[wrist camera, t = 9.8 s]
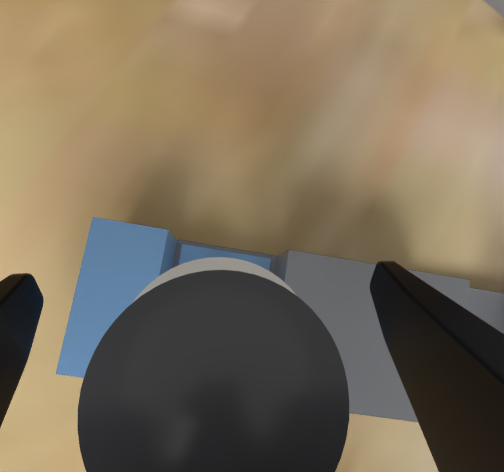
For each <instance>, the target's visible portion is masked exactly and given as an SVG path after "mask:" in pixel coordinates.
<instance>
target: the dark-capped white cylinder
mask: <svg viewBox="0 0 504 472" xmlns="http://www.w3.org/2000/svg"><path fill="white" fill-rule="evenodd" d="M348 423H349V391H348V383H347V378H346V373H345V368H344V365H343V362H342V359H341V356H340V353H339V350H338V348H337V346H336V344H335V342H334V340H333V338H332V336H331V334H330V333H329V331H328V330H327V328H326V327H325V325H324V323H323V322H322V321H321V319H320V318H319V317H318V316H317V315H316V313H315V312H314V311H313V310H312V309H311V308H310V307H309V306H308V305H307V304H306V303H305V302H304V301H303V300H301V299H300V298H299V297H298V296H297V295H296V294H295V293H294V292H293V291H292V289H291V288H290V287H289V286H288V285H287V284H286V283H285V282H283V281H282V280H281V279H280V278H279V277H277V276H276V275H274V274H273V273H272V272H270V271H268V270H266V269H265V268H263V267H261V266H259V265H256V264H253V263H251V262H248V261H244V260H240V259H235V258H226V257H210V258H203V259H197V260H193V261H190V262H186V263H183V264H181V265H178V266H176V267H174V268H172V269H170V270H168V271H167V272H165V273H163V274H162V275H160V276H158V277H157V278H156V279H155V280H153V281H152V282H151V283H150V284H149V285H147V286H146V287H145V288H144V290H143V291H142V292H141V293H140V294H139V295H138V296H137V297H136V299H135V300H134V301H133V303H132V304H131V305H129V306H128V307H127V308H126V309H125V310H124V311H123V312H122V313H121V314H120V315H119V316H118V317H117V318H116V320H115V321H114V322H113V323H112V325H111V326H110V327H109V329H108V330H107V331H106V333H105V334H104V335H103V337H102V339H101V340H100V342H99V344H98V346H97V347H96V349H95V351H94V353H93V355H92V358H91V360H90V362H89V365H88V367H87V369H86V373H85V376H84V380H83V383H82V387H81V392H80V399H79V406H78V435H79V444H80V450H81V454H82V458H83V462H84V466H85V469H86V471H87V472H335V470H336V468H337V465H338V463H339V461H340V458H341V455H342V452H343V448H344V444H345V441H346V436H347V429H348Z"/></svg>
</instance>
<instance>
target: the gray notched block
mask: <svg viewBox="0 0 504 472" xmlns="http://www.w3.org/2000/svg"><path fill="white" fill-rule="evenodd" d="M210 257H226V258H235V259H240V260H244V261H248V262H251V263H253V264H256V265H259V266H261V267H263V268H265V269H266V270H268V271H270V272H272V273H273V274H274V275H276V276H277V277H279V278H280V279H281V280H282V281H283V282H285V283H286V284H287V285H288V286H289V287H290V288H291V289H292V291H293V292H294V293H295V294H296V295H297V296H298V297H299V298H300V299H301V300H303V301H304V302H305V303H306V304H307V305H308V306H309V307H310V308H311V309H312V310H313V311H314V312H315V313H316V315H317V316H318V317H319V318H320V319H321V321H322V322H323V323H324V325H325V327H326V328H327V330H328V331H329V333H330V334H331V336H332V338H333V340H334V342H335V344H336V346H337V348H338V350H339V353H340V356H341V359H342V362H343V365H344V368H345V373H346V378H347V383H348V391H349V413H353V414H360V415H368V416H376V417H383V418H391V419H398V420H406V421H413V422H418V420H417V418H416V415H415V413H414V410H413V408H412V405H411V403H410V401H409V398H408V396H407V393H406V391H405V389H404V386H403V384H402V381H401V379H400V377H399V374H398V372H397V369H396V367H395V365H394V362H393V360H392V357H391V355H390V352H389V350H388V348H387V345H386V342H385V340H384V337H383V334H382V330H381V327H380V324H379V320H378V317H377V313H376V310H375V306H374V303H373V299H372V296H371V292H370V281H371V278H372V275H373V272H374V269H375V266H376V264H372V263H366V262H360V261H354V260H348V259H342V258H336V257H330V256H324V255H318V254H312V253H306V252H300V251H294V250H287V251H286V252H284V253H282V254H280V255H278V256H274V255H268V254H262V253H256V252H249V251H243V250H237V249H231V248H225V247H219V246H213V245H207V244H201V243H195V242H189V241H183V240H177V239H176V238H175V236H174V235H173V234H172V233H171V232H170V231H169V230H167V229H161V228H155V227H149V226H143V225H137V224H131V223H125V222H119V221H113V220H107V219H101V218H95V217H93V218H92V222H91V227H90V231H89V235H88V239H87V244H86V248H85V252H84V256H83V261H82V265H81V269H80V273H79V278H78V282H77V286H76V290H75V295H74V299H73V303H72V307H71V312H70V316H69V320H68V324H67V329H66V333H65V337H64V341H63V346H62V350H61V354H60V358H59V363H58V367H57V371H56V374H60V375H67V376H75V377H82V378H84V376H85V373H86V369H87V367H88V365H89V362H90V360H91V358H92V355H93V353H94V351H95V349H96V347H97V346H98V344H99V342H100V340H101V339H102V337H103V335H104V334H105V333H106V331H107V330H108V329H109V327H110V326H111V325H112V323H113V322H114V321H115V320H116V318H117V317H118V316H119V315H120V314H121V313H122V312H123V311H124V310H125V309H126V308H127V307H128V306H129V305H131V304H132V303H133V301H134V300H135V299H136V297H137V296H138V295H139V294H140V293H141V292H142V291H143V290H144V288H145V287H146V286H147V285H149V284H150V283H151V282H152V281H153V280H155V279H156V278H157V277H158V276H160V275H162V274H163V273H165V272H167V271H168V270H170V269H172V268H174V267H176V266H178V265H181V264H183V263H186V262H190V261H193V260H197V259H203V258H210ZM406 270H408V269H406ZM408 271H409V272H411V273H412V274H414V275H415V276H417V277H418V278H420V279H421V280H423V281H424V282H426V283H427V284H429V285H430V286H432V287H433V288H435V289H437V290H438V291H440V292H441V293H443V294H444V295H446V296H447V297H449V298H450V299H452V300H453V301H455V302H456V303H458V304H459V305H461V306H462V307H464V308H465V309H467V310H468V311H470V312H471V313H473V314H474V315H476V316H477V317H479V318H480V319H482V320H484V321H485V322H487V323H488V324H490V325H491V326H493V327H494V328H496V329H497V330H499V331H500V332H502V333H503V334H504V293H499V292H492V291H486V290H480V289H474V288H469V287H470V280H468V279H462V278H456V277H450V276H444V275H438V274H432V273H426V272H420V271H414V270H408Z"/></svg>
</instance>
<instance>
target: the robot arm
mask: <svg viewBox="0 0 504 472" xmlns="http://www.w3.org/2000/svg"><path fill="white" fill-rule="evenodd" d="M370 292H371V296H372V299H373V303H374V306H375V310H376V313H377V317H378V320H379V324H380V327H381V330H382V334H383V337H384V340H385V342H386V345H387V348H388V350H389V352H390V355H391V357H392V360H393V362H394V365H395V367H396V369H397V372H398V374H399V377H400V379H401V381H402V384H403V386H404V389H405V391H406V393H407V396H408V398H409V401H410V403H411V405H412V408H413V410H414V413H415V415H416V418H417V420H418V422H419V425H420V427H421V430H422V432H423V434H424V437H425V439H426V442H427V444H428V446H429V449H430V451H431V454H432V456H433V458H434V461H435V463H436V466H437V468H438V471H439V472H504V334H503V333H502V332H500V331H499V330H497V329H496V328H494V327H493V326H491V325H490V324H488V323H487V322H485V321H484V320H482V319H480V318H479V317H477V316H476V315H474V314H473V313H471V312H470V311H468V310H467V309H465V308H464V307H462V306H461V305H459V304H458V303H456V302H455V301H453V300H452V299H450V298H449V297H447V296H446V295H444V294H443V293H441V292H440V291H438V290H437V289H435V288H433V287H432V286H430V285H429V284H427V283H426V282H424V281H423V280H421V279H420V278H418V277H417V276H415V275H414V274H412V273H411V272H409V271H408V270H406V269H405V268H403V267H402V266H400V265H399V264H397V263H396V262H394V261H380V262H378V263H377V264H376V266H375V269H374V272H373V275H372V278H371V281H370ZM42 307H43V296H42V293H41V291H40V289H39V287H38V285H37V283H36V281H35V279H34V277H33V276H32V275H31V274H28V273H23V274H12V275H10V276H8V277H7V278H5V279H3V280H2V281H0V427H1V425H2V422H3V420H4V417H5V415H6V412H7V410H8V407H9V405H10V403H11V400H12V398H13V395H14V393H15V390H16V388H17V385H18V383H19V380H20V378H21V375H22V373H23V371H24V368H25V365H26V363H27V360H28V357H29V354H30V350H31V347H32V343H33V339H34V336H35V332H36V329H37V325H38V322H39V318H40V314H41V311H42Z"/></svg>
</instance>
